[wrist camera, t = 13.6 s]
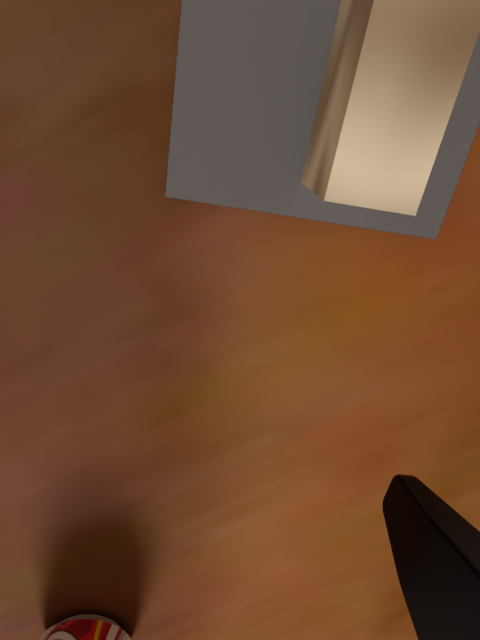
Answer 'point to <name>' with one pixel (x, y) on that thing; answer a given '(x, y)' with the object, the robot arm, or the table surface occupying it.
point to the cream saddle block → (388, 99)
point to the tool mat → (281, 114)
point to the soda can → (85, 629)
